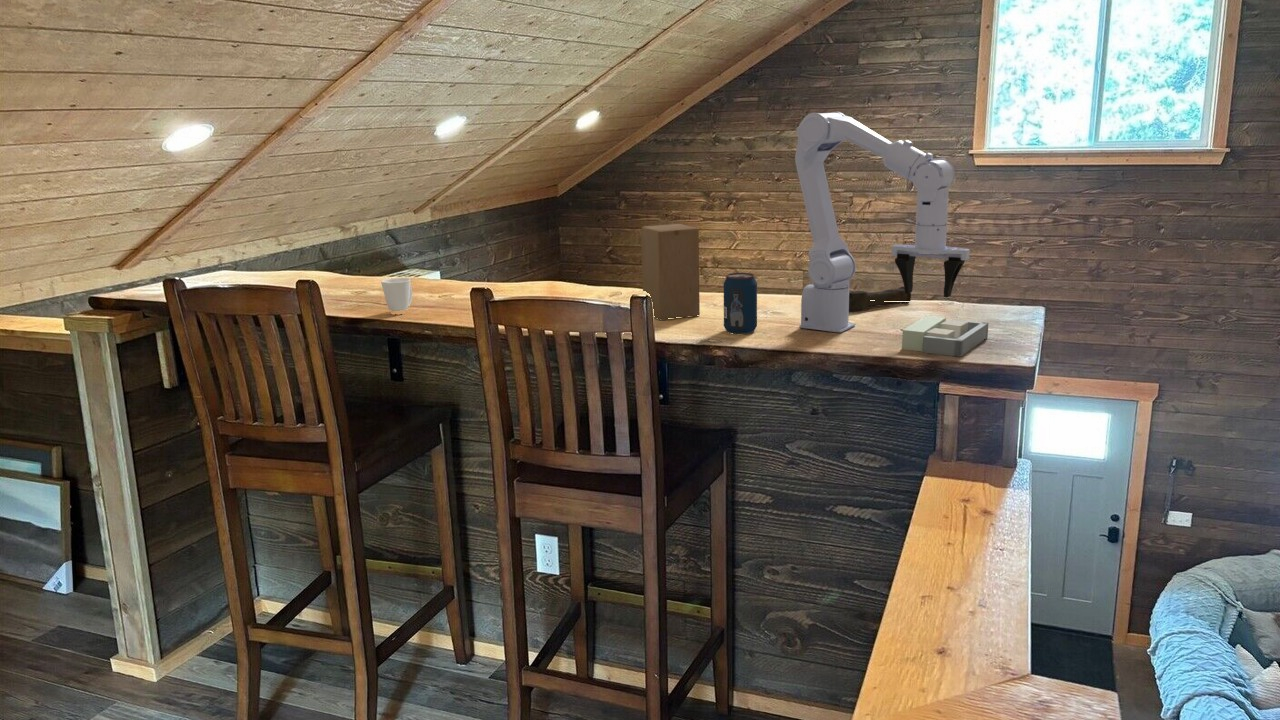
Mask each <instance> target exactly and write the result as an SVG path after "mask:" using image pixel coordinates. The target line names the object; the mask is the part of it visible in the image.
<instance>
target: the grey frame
mask: <svg viewBox="0 0 1280 720" xmlns="http://www.w3.org/2000/svg"><path fill="white" fill-rule="evenodd" d="M952 320H954V321H963V322H968V332H967V333H965V334H964V335H962V336H961V337H959V338H958V339H952V338H943V337H934V336H924V340H923V351H922V353H925V354H933V355H941V356H942V355H943V356H949V357H958V358H961V357H962V356H963V355H965V354H967V353H968V352H970V351H971V350H973V348H975V347H976V346H978V345H979V344H980V343H982V342H984V341H985V340H987V339H988V338H987V337H988V335H989V333H988V332H989V322H982V321H976V320H975V321H974V320H963V319H956V318H953V319H952ZM984 339H985V340H984Z"/></svg>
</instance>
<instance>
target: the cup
mask: <svg viewBox="0 0 1280 720" xmlns="http://www.w3.org/2000/svg"><path fill="white" fill-rule="evenodd" d="M380 283H381V287H382V290H383V295H384V299H385V303H386V305H387V308H388V310H389V311H390V310H392V311H402V310H407V311H408V309H409V308H408V306H409V307H410V305H411V303H412V300H413V289H412V284H411V278H407V277H392V278H386V279H382V280H381V282H380ZM407 308H408V309H407ZM392 311H391V312H392Z"/></svg>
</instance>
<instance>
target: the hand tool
mask: <svg viewBox="0 0 1280 720" xmlns="http://www.w3.org/2000/svg"><path fill="white" fill-rule="evenodd" d="M911 297H912V292H911V293H909V294H906V293H905V289H904V286H900V287H898V288H895V289H893V288H891V289H886V290H881V291H876V292H867V291H863V290H859V291H850V292H849V313H854V312H856V313H857V312H864V311H867V309H869V308H874V307H880V306H889V305H894V304H895V305H896V304H897V305H898V304H901V303H904V304H910V302H911ZM870 300H875V301H870ZM884 301H910V302H884Z"/></svg>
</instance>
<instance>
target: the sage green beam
mask: <svg viewBox="0 0 1280 720" xmlns="http://www.w3.org/2000/svg"><path fill="white" fill-rule="evenodd" d="M946 319H947V318H946V317H941V316H931V315H925V316H923V317H921V319H920V318H919V319H918V320H917V321H915V322H913V323H912V324H910V325H908V326H907V327H905V328H904V329H902V334H901V336H902V338H901V339H902V341H901V350H908V351H917V352H923V340H924V336H926V332H927V331H929V330H931V329H933V328H939V329H940V326H941V323H943V322H945V321H947V320H946Z"/></svg>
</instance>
